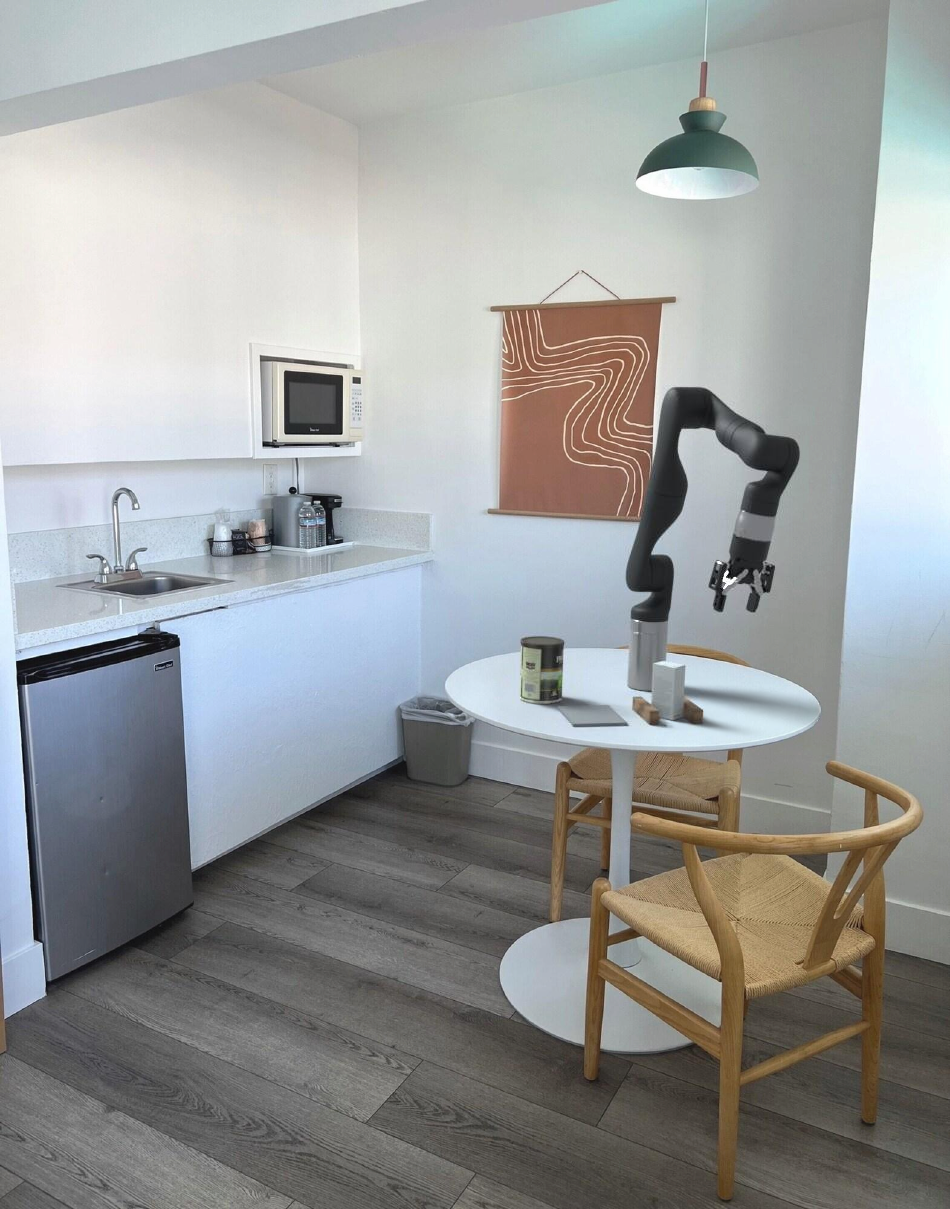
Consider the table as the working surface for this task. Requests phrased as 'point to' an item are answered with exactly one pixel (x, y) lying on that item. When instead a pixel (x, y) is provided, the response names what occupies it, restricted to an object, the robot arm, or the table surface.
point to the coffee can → (541, 669)
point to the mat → (591, 715)
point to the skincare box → (668, 689)
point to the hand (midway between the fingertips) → (734, 611)
